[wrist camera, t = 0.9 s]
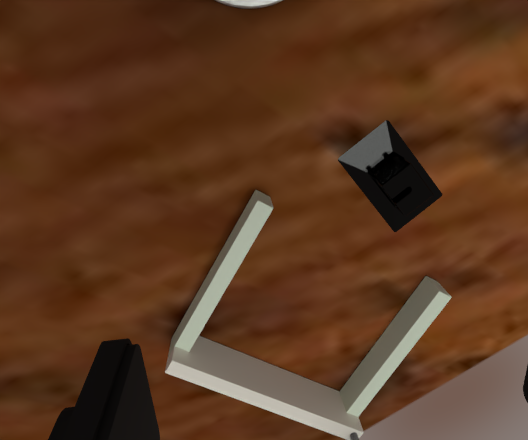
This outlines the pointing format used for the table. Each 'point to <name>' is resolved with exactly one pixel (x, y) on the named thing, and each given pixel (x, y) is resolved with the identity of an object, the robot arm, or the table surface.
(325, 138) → the table surface
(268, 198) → the frame
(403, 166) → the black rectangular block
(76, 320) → the table surface
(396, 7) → the table surface
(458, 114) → the table surface
